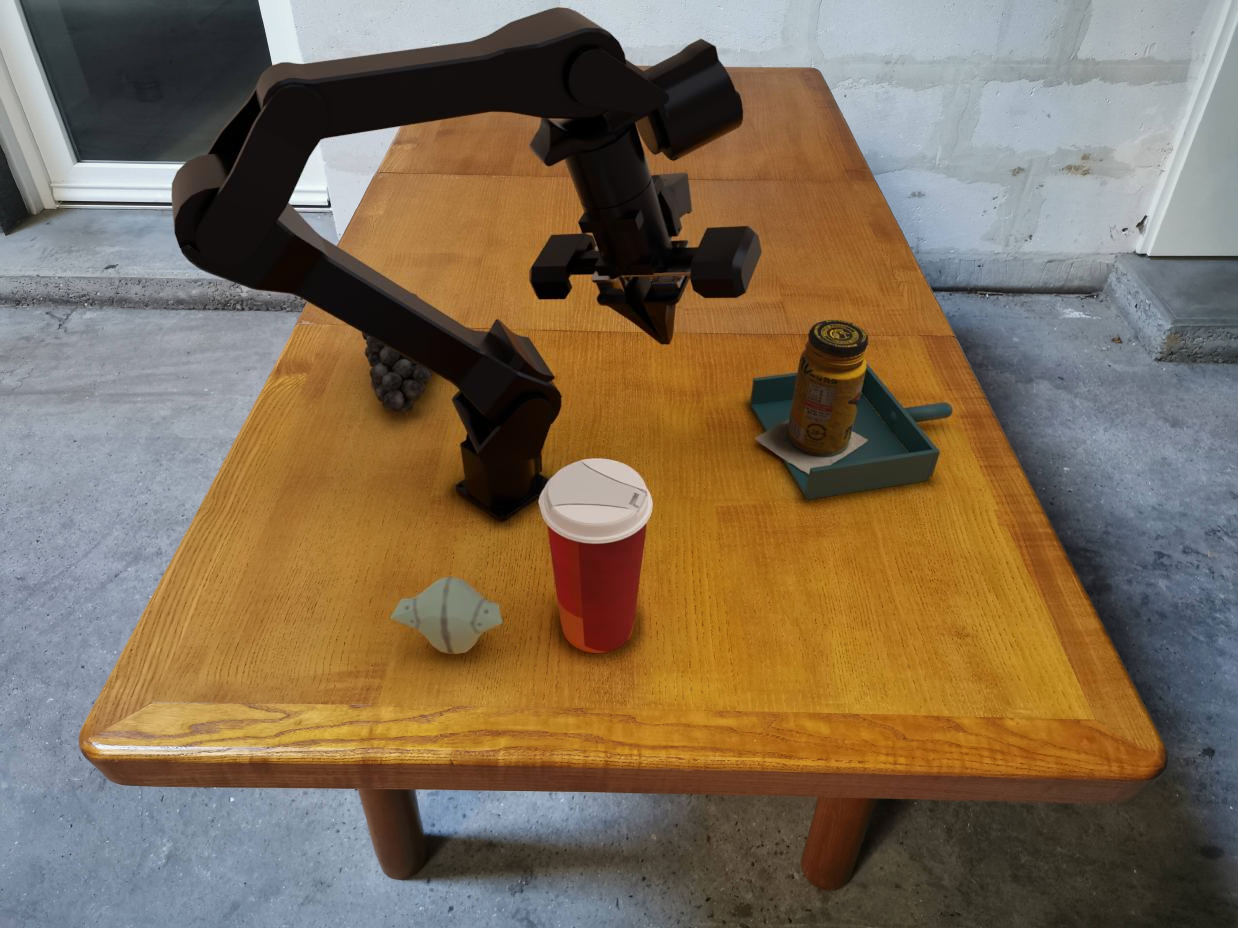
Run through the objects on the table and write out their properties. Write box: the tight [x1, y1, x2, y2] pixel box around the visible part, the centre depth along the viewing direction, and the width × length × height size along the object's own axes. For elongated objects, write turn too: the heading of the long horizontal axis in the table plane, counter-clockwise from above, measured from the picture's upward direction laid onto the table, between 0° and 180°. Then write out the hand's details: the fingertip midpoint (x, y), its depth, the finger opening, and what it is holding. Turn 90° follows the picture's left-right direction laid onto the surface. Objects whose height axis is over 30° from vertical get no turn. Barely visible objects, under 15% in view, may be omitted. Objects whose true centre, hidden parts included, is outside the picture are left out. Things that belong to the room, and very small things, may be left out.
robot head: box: [390, 576, 503, 655], centre depth 64 cm, size 8×4×7 cm, turn 87°
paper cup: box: [538, 457, 654, 654], centre depth 64 cm, size 8×8×14 cm
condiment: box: [754, 319, 869, 474], centre depth 82 cm, size 7×8×12 cm
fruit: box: [361, 292, 433, 414], centre depth 90 cm, size 9×8×15 cm
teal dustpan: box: [749, 362, 954, 501], centre depth 86 cm, size 18×15×3 cm
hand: (667, 341), depth 77 cm, fingers closed
